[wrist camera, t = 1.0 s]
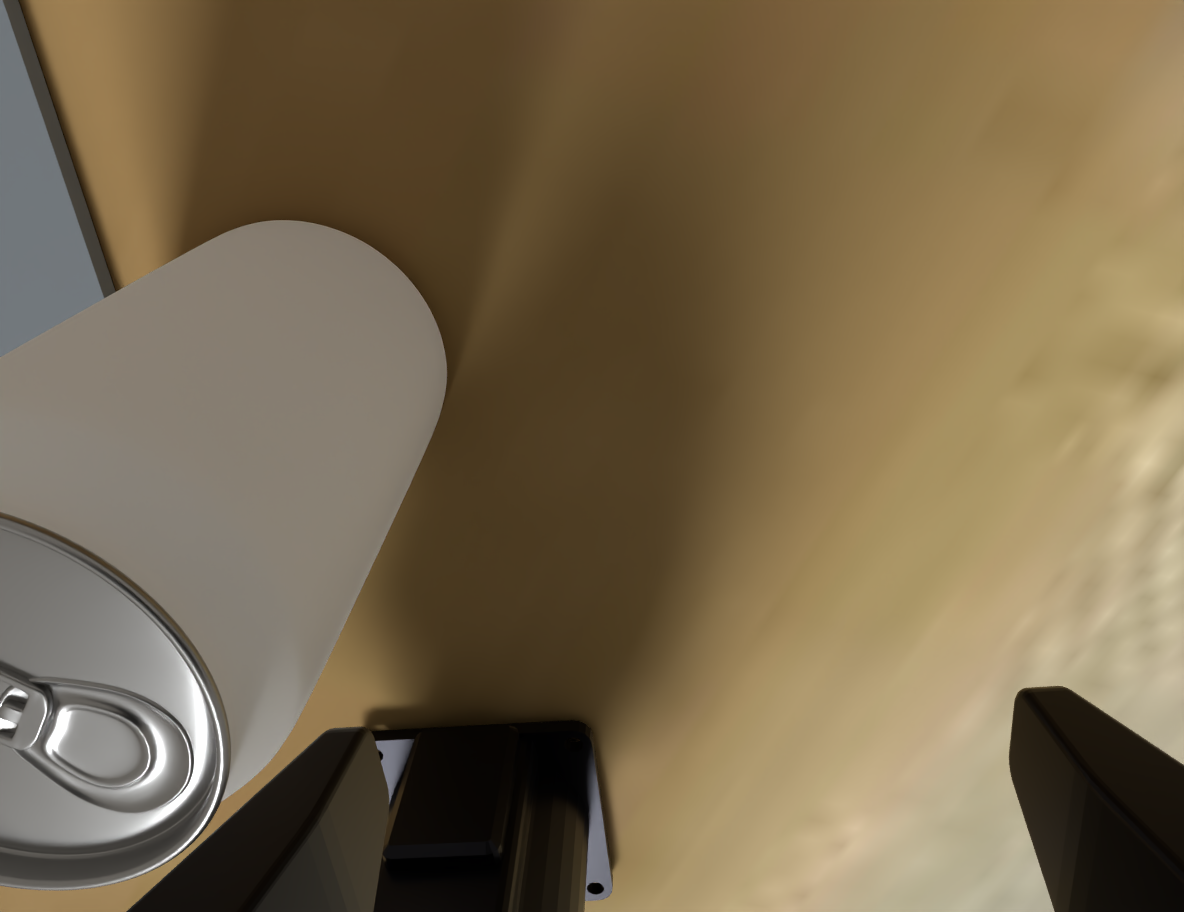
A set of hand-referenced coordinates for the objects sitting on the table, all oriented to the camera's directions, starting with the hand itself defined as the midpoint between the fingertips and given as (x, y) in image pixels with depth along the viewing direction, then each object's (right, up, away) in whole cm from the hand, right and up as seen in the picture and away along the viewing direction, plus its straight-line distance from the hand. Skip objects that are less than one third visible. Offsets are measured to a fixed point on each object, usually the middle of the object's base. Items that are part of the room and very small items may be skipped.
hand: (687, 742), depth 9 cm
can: (-7, +5, +13) cm, 15 cm away
